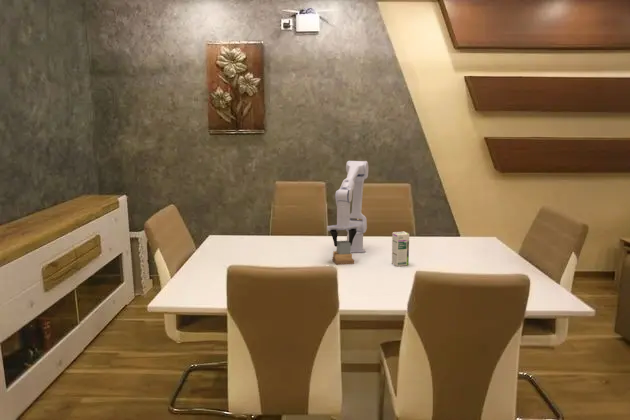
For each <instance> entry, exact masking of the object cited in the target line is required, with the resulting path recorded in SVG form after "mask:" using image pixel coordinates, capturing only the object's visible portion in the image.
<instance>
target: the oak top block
mask: <svg viewBox="0 0 630 420" xmlns="http://www.w3.org/2000/svg"><path fill="white" fill-rule="evenodd" d="M332 257H334V258H335V259H336V260H337V261H340V260H352V259H353V254H352V253H350V254H341V255H340V254H338V253H337V250H336V251H333V252H332Z"/></svg>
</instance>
